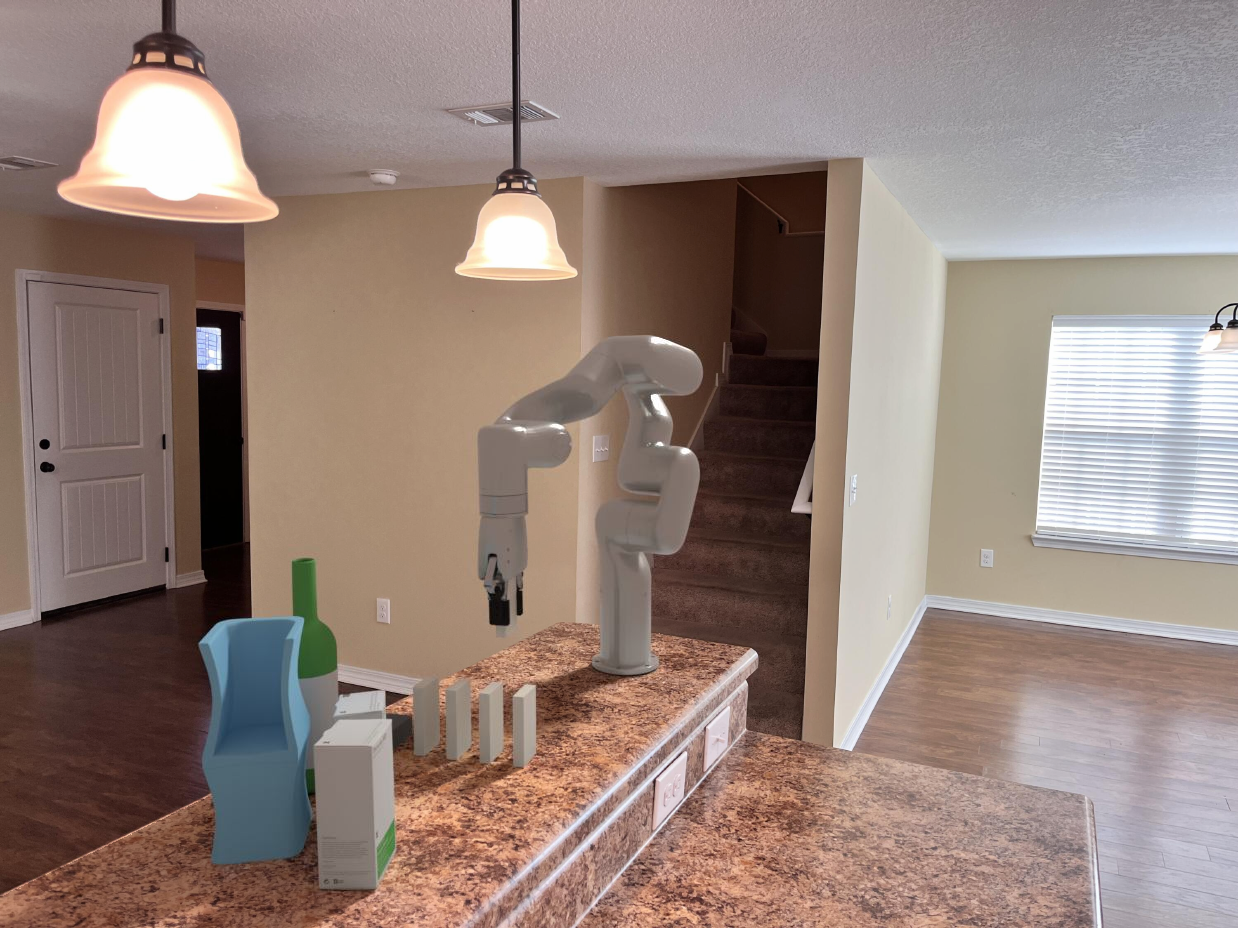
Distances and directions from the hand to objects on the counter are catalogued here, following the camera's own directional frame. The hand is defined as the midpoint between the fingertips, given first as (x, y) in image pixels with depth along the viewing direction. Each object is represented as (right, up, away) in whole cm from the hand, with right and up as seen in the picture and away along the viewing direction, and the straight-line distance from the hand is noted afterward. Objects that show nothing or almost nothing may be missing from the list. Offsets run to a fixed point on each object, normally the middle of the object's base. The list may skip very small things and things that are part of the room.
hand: (506, 618), depth 137 cm
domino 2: (-5, -17, -11) cm, 21 cm away
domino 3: (-1, -17, -12) cm, 21 cm away
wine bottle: (-23, -18, -21) cm, 36 cm away
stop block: (-16, -17, -8) cm, 25 cm away
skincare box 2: (-11, -20, -41) cm, 47 cm away
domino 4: (0, -2, 0) cm, 2 cm away
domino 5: (+4, -18, -13) cm, 22 cm away
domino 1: (-10, -17, -10) cm, 22 cm away
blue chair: (-24, -20, -35) cm, 47 cm away
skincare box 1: (-13, -19, -31) cm, 38 cm away
